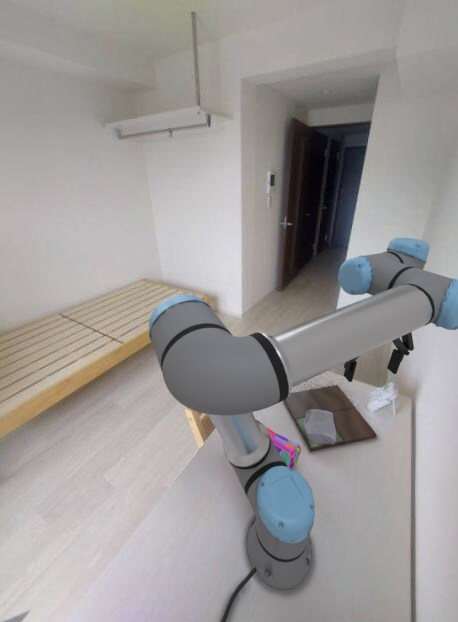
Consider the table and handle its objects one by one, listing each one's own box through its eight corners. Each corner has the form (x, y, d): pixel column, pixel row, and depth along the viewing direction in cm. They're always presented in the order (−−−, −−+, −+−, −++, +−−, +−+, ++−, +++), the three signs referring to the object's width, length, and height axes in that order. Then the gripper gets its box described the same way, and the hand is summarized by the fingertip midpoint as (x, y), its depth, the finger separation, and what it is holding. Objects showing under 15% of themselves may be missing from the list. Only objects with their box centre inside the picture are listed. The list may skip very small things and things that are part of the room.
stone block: (305, 445, 89) (338, 446, 86) (304, 435, 87) (337, 435, 84) (303, 417, 99) (332, 417, 97) (302, 407, 97) (331, 407, 95)
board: (310, 452, 87) (310, 448, 86) (282, 397, 107) (282, 394, 107) (375, 437, 91) (376, 434, 90) (336, 387, 112) (337, 384, 111)
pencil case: (228, 444, 90) (227, 426, 85) (243, 424, 96) (243, 406, 92) (289, 482, 78) (292, 463, 74) (301, 457, 85) (304, 438, 81)
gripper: (353, 319, 58) (336, 392, 68) (449, 306, 63) (420, 376, 73) (334, 304, 65) (321, 372, 75) (422, 293, 69) (399, 359, 79)
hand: (369, 374), depth 74 cm, fingers open, 13 cm apart
